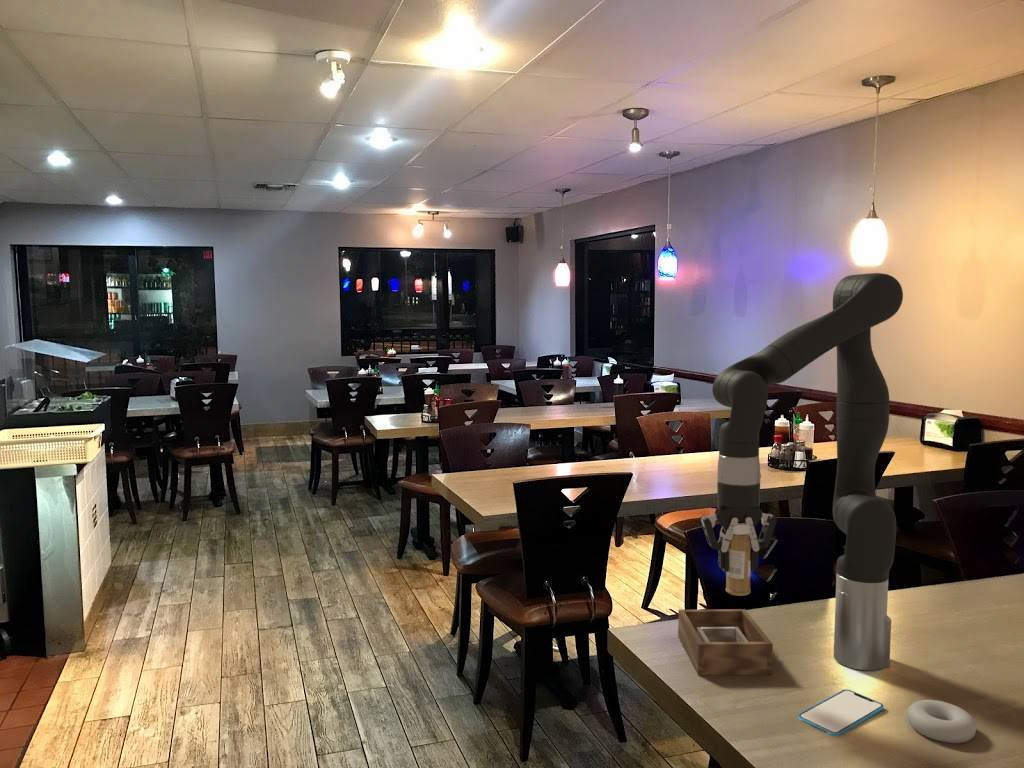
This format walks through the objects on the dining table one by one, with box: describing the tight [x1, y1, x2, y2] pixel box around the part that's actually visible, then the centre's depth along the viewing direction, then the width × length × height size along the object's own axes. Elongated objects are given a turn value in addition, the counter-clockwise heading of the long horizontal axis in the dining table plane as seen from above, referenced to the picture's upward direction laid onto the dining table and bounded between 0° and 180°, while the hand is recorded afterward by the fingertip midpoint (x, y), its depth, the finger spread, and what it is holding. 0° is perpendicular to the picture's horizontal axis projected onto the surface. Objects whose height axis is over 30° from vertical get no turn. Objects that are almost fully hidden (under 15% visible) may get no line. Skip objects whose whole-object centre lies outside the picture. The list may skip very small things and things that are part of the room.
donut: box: [906, 699, 977, 744], centre depth 126 cm, size 10×4×10 cm
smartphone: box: [797, 688, 885, 737], centre depth 131 cm, size 8×1×15 cm
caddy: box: [677, 608, 774, 676], centre depth 154 cm, size 14×17×6 cm
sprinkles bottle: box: [725, 523, 752, 597], centre depth 142 cm, size 5×5×14 cm
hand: (737, 569), depth 142 cm, fingers closed on sprinkles bottle, 4 cm apart
